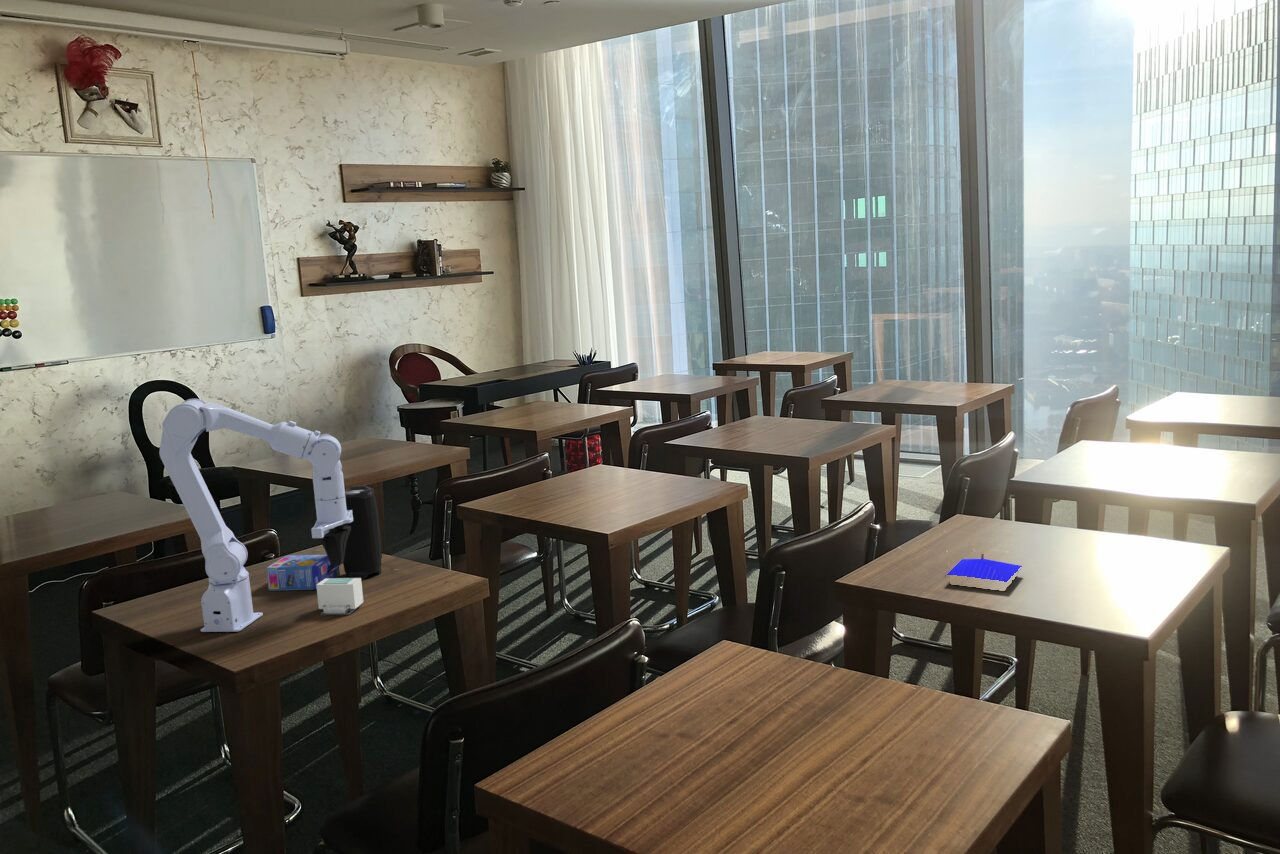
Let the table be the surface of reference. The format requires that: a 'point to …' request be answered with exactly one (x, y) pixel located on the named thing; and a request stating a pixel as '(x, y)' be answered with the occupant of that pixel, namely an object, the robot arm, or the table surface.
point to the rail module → (340, 592)
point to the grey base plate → (337, 610)
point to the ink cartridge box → (300, 572)
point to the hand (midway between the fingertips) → (337, 564)
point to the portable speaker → (362, 533)
